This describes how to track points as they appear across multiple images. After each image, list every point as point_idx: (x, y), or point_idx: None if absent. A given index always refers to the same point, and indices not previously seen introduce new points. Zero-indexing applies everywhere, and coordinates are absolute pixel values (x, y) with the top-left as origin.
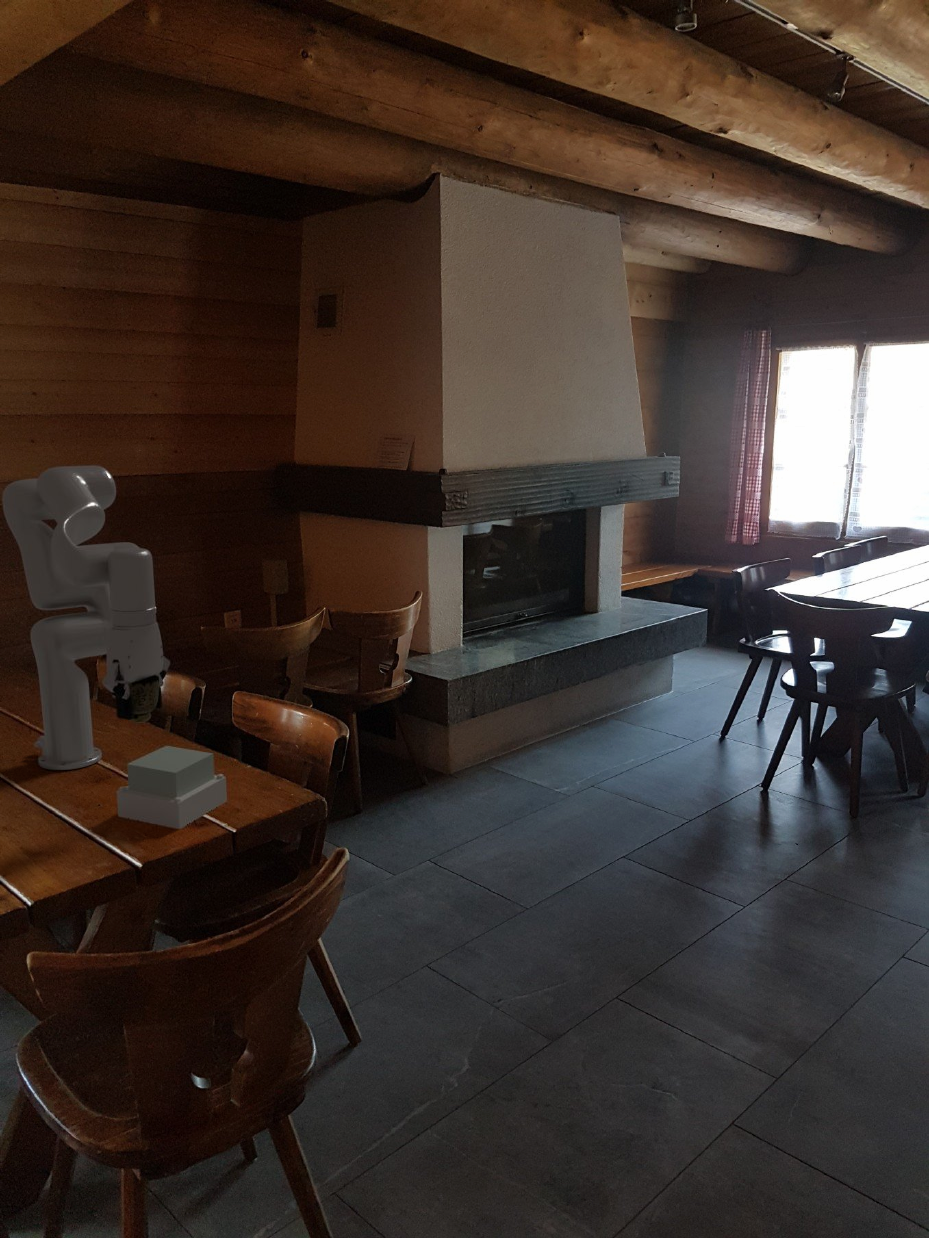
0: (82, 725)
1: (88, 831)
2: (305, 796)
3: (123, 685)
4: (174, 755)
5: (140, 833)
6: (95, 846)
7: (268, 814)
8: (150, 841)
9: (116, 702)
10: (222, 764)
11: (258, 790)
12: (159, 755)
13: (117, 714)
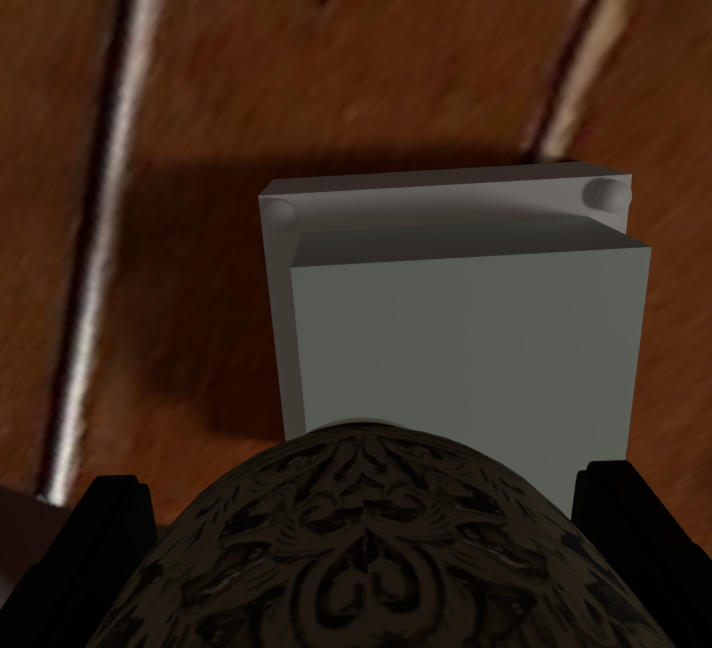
0: None
1: (113, 180)
2: None
3: (350, 629)
4: (519, 399)
5: (209, 359)
6: (49, 302)
7: None
8: (183, 427)
9: (5, 622)
10: None
11: (688, 459)
12: (486, 330)
13: (90, 496)
